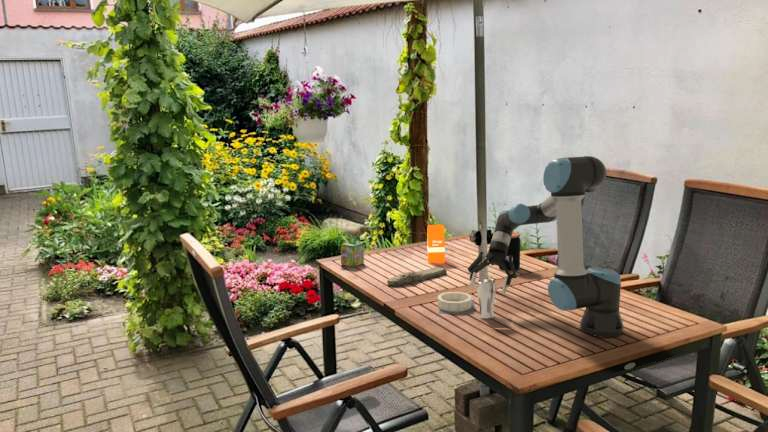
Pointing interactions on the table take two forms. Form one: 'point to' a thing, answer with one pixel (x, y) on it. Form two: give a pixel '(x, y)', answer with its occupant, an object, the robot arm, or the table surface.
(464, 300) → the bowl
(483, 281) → the beer glass
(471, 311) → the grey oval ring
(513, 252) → the coffee jar
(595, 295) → the robot arm
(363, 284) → the table surface
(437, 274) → the elongated rock
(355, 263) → the green glass canister
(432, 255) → the orange juice
